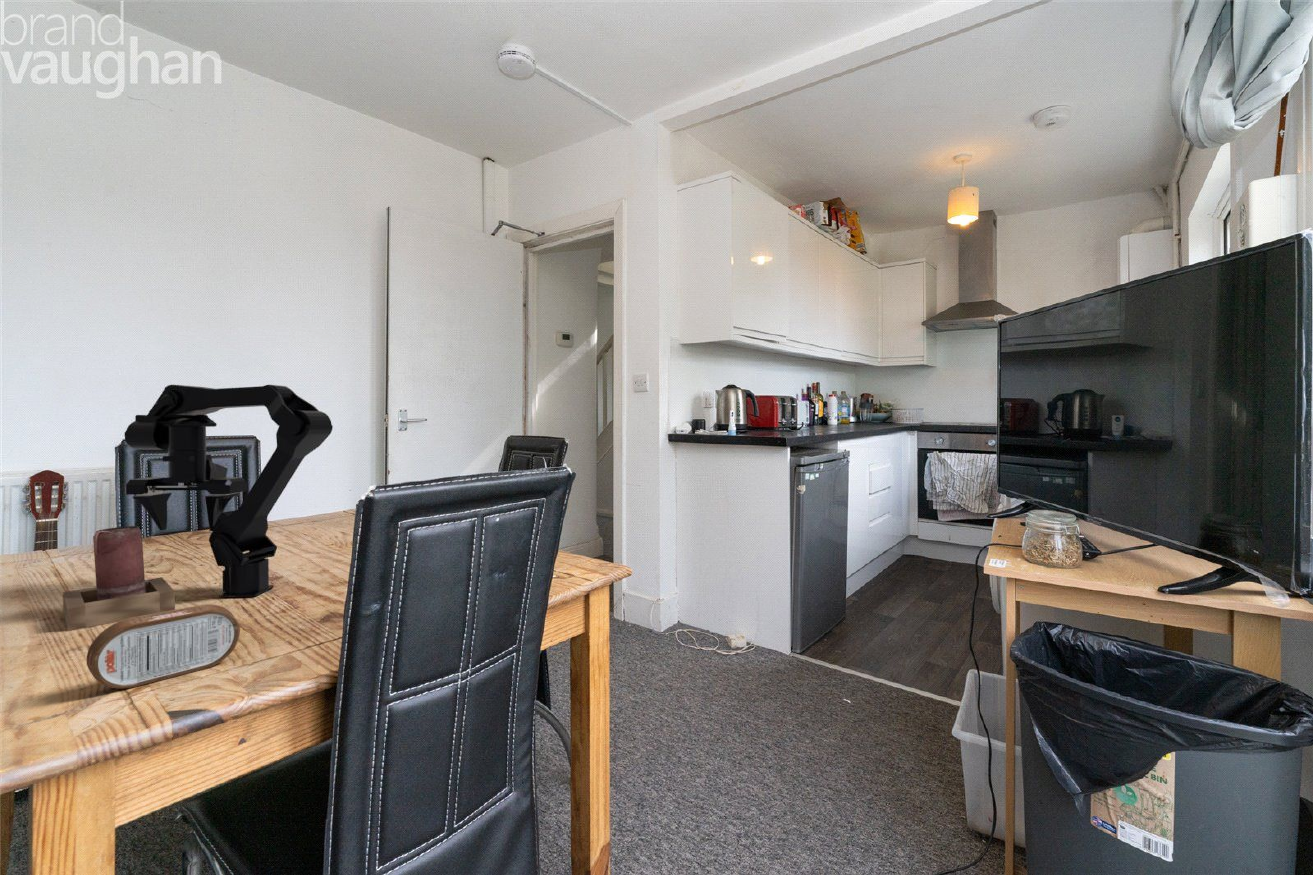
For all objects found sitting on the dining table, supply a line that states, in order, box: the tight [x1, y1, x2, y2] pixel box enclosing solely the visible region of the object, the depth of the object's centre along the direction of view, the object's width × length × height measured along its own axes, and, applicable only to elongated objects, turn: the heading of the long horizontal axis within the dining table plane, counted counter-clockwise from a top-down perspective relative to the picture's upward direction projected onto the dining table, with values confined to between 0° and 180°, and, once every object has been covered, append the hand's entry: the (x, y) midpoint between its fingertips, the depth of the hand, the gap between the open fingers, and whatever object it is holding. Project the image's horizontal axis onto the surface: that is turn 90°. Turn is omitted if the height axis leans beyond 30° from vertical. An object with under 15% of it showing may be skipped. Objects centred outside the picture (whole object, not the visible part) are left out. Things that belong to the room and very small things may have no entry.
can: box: [92, 525, 146, 601], centre depth 98 cm, size 6×6×14 cm
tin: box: [86, 604, 241, 690], centre depth 73 cm, size 15×3×8 cm, turn 140°
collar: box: [62, 577, 176, 632], centre depth 98 cm, size 13×13×4 cm
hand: (188, 530), depth 110 cm, fingers open, 9 cm apart
